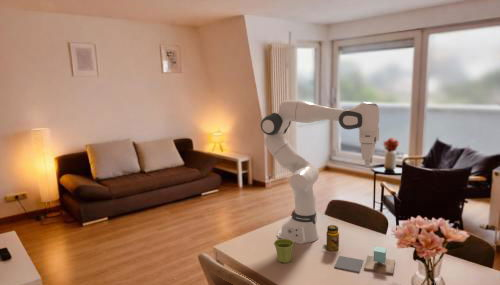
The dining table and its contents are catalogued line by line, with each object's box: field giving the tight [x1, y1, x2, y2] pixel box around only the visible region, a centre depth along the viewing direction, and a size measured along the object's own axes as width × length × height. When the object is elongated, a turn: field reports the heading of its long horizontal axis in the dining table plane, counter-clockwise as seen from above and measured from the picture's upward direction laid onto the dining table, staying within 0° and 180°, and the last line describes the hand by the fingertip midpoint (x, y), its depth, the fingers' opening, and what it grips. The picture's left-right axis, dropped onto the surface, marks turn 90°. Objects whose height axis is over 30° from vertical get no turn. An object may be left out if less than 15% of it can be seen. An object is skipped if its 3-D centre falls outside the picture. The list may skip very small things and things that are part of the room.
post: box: [363, 255, 396, 276], centre depth 159 cm, size 12×12×7 cm
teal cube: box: [373, 246, 387, 263], centre depth 158 cm, size 5×5×5 cm
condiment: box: [321, 224, 341, 254], centre depth 176 cm, size 7×8×12 cm
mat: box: [333, 255, 364, 274], centre depth 161 cm, size 11×11×1 cm
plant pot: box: [273, 238, 295, 264], centre depth 167 cm, size 9×9×9 cm
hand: (368, 165), depth 167 cm, fingers open, 8 cm apart
